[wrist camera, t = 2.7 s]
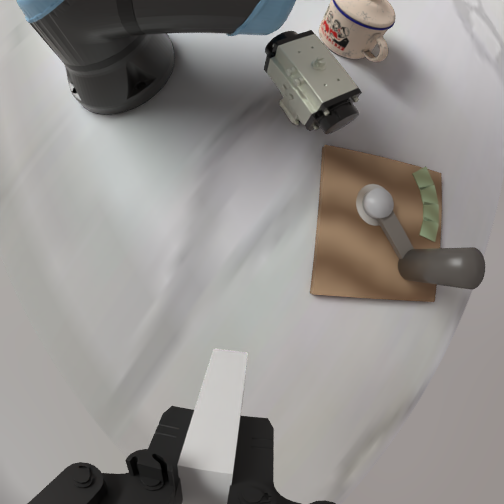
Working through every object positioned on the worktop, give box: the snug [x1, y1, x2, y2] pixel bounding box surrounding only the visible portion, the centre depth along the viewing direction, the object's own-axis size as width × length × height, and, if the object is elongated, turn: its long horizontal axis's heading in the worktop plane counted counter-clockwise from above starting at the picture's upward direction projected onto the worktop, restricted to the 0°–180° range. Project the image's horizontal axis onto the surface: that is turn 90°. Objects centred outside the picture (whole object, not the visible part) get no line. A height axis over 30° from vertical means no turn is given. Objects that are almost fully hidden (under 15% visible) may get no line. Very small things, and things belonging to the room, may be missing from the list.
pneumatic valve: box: [264, 30, 362, 134], centre depth 31 cm, size 6×12×12 cm, turn 31°
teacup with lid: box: [319, 0, 395, 62], centre depth 32 cm, size 12×9×12 cm
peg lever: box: [362, 188, 485, 289], centre depth 30 cm, size 13×4×12 cm, turn 34°
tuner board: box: [310, 145, 442, 302], centre depth 37 cm, size 18×18×1 cm
